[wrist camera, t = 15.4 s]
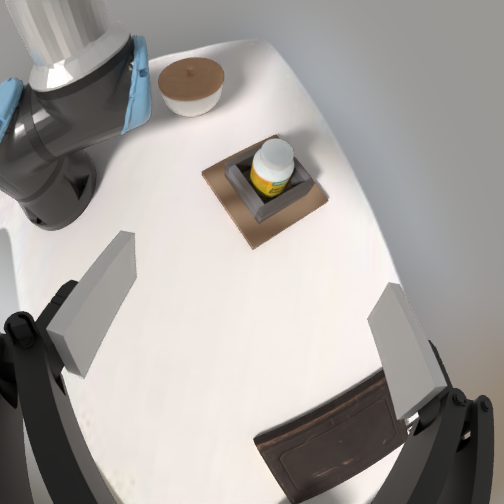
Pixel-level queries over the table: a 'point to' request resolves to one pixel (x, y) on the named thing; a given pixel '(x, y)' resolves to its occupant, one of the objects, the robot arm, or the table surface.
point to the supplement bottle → (271, 168)
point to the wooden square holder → (255, 209)
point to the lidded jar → (191, 86)
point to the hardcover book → (334, 441)
